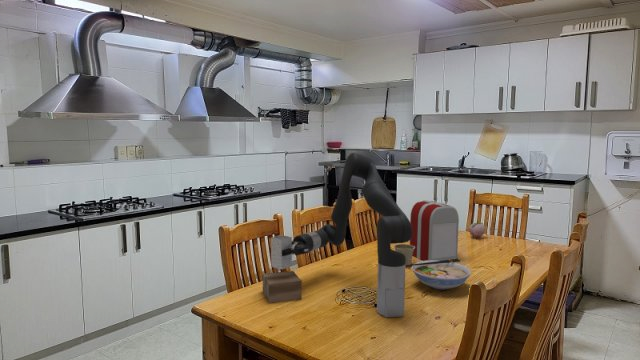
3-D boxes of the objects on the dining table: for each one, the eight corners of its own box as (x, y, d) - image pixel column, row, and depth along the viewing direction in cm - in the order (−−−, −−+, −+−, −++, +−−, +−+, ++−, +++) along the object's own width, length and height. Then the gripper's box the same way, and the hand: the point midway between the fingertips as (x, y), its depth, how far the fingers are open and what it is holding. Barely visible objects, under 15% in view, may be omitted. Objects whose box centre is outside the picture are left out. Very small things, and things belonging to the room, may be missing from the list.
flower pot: (414, 268, 197) (415, 250, 196) (393, 267, 199) (393, 248, 198) (414, 262, 207) (414, 244, 206) (394, 261, 208) (394, 243, 208)
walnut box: (301, 299, 161) (301, 280, 161) (269, 303, 158) (269, 284, 157) (293, 288, 173) (293, 270, 172) (262, 291, 169) (262, 273, 168)
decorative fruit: (474, 235, 260) (474, 219, 259) (487, 238, 253) (487, 221, 252) (465, 238, 254) (465, 221, 253) (478, 240, 247) (479, 223, 246)
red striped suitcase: (435, 251, 227) (437, 199, 223) (458, 260, 210) (460, 204, 207) (408, 254, 221) (409, 200, 217) (428, 264, 204) (430, 206, 201)
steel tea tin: (291, 265, 164) (291, 237, 163) (281, 269, 160) (281, 240, 159) (281, 263, 168) (281, 234, 166) (271, 266, 164) (270, 237, 162)
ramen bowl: (426, 300, 161) (426, 278, 160) (398, 279, 183) (399, 260, 182) (485, 294, 168) (486, 273, 167) (452, 274, 189) (452, 256, 189)
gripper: (293, 230, 178) (262, 238, 165) (321, 236, 169) (290, 245, 156) (293, 248, 179) (263, 258, 166) (321, 255, 170) (290, 266, 157)
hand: (276, 252), depth 161 cm, fingers closed on steel tea tin, 5 cm apart
